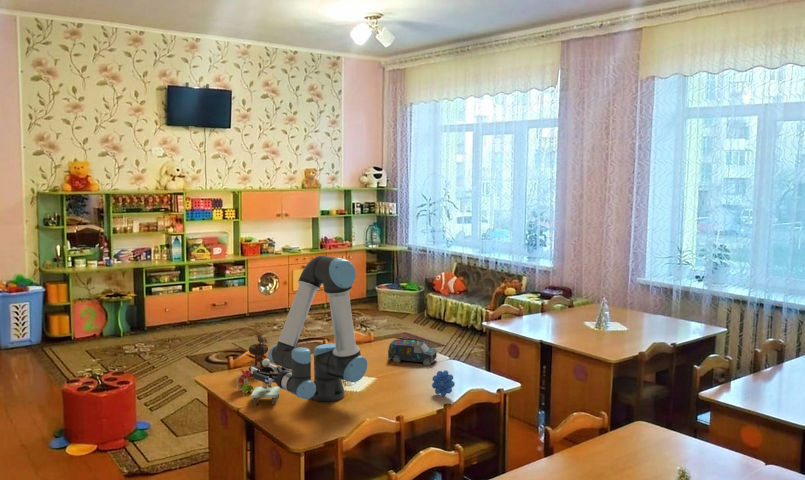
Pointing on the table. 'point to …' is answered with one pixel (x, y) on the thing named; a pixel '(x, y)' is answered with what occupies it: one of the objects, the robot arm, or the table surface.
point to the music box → (258, 353)
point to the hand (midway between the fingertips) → (260, 368)
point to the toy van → (411, 351)
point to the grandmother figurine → (266, 370)
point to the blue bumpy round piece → (443, 383)
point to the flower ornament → (244, 382)
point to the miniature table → (266, 394)
